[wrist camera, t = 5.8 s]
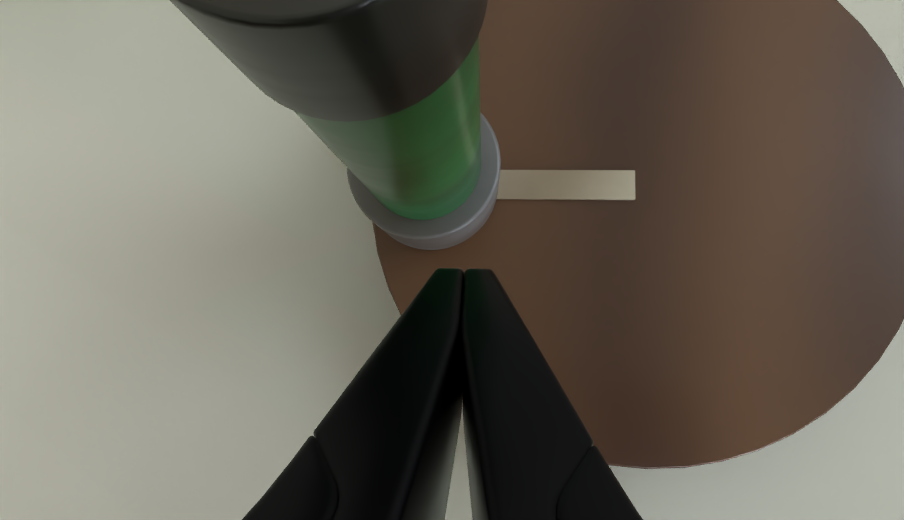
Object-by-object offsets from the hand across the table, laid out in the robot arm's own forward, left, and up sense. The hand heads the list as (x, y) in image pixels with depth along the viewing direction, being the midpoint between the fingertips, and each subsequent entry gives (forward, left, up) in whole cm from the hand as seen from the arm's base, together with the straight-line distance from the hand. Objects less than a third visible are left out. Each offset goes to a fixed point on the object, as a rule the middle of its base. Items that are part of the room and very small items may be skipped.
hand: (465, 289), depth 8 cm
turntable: (+5, -1, -6) cm, 8 cm away
